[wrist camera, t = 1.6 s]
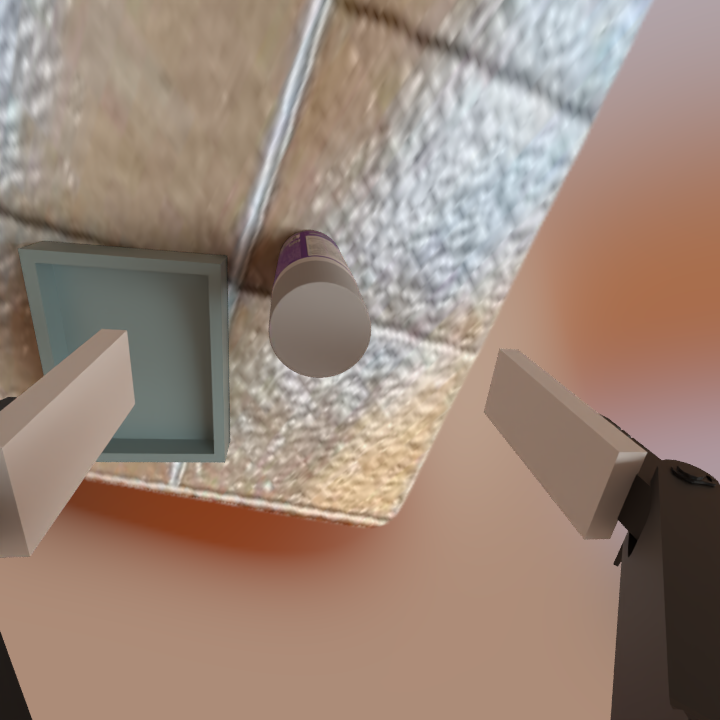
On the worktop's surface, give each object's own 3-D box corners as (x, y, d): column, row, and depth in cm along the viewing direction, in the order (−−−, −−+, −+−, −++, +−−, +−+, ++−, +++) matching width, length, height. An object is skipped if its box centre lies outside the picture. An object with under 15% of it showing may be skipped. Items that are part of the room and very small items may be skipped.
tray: (43, 240, 29) (17, 248, 26) (227, 255, 31) (220, 264, 28) (79, 439, 35) (61, 461, 33) (230, 440, 37) (224, 462, 35)
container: (290, 300, 33) (285, 392, 20) (269, 239, 31) (249, 296, 18) (348, 283, 33) (384, 363, 20) (331, 222, 31) (359, 265, 18)
